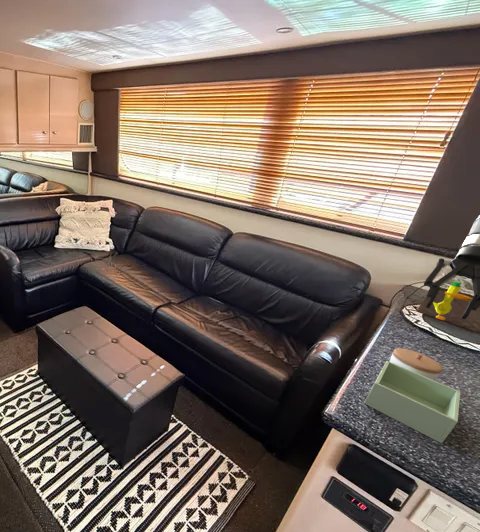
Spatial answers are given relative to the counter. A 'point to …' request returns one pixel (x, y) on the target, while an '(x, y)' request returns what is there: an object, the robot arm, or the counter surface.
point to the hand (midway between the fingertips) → (446, 311)
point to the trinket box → (416, 363)
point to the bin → (415, 401)
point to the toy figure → (449, 300)
